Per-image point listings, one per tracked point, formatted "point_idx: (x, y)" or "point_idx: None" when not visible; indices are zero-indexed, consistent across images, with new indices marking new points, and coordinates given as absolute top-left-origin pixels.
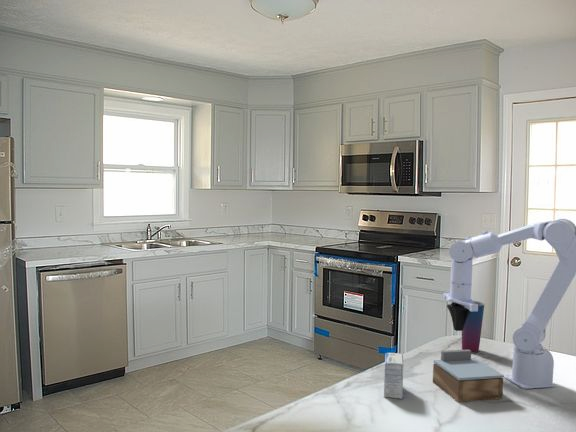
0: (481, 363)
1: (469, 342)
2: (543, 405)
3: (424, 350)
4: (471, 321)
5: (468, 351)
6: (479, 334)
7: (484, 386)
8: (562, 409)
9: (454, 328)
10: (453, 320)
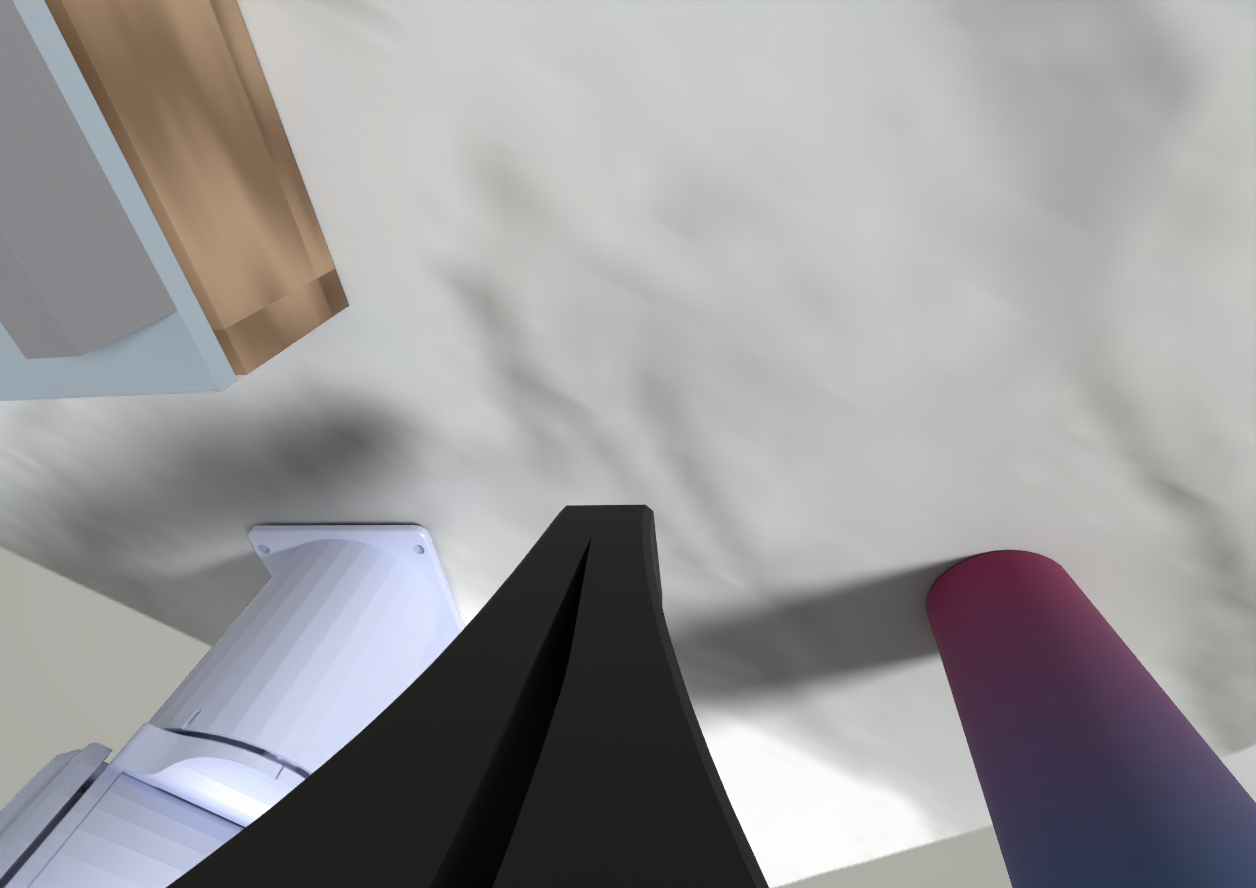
0: (63, 371)
1: (979, 632)
2: (59, 497)
3: (1208, 172)
4: (1069, 866)
5: (5, 316)
6: (973, 759)
7: None
8: (52, 548)
9: (617, 517)
10: (588, 632)
